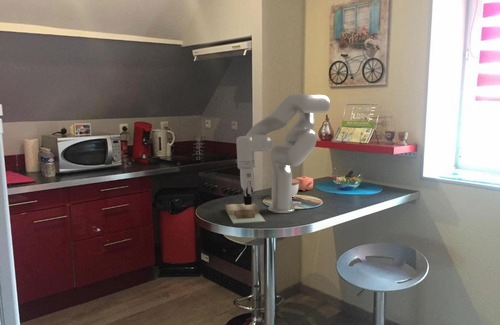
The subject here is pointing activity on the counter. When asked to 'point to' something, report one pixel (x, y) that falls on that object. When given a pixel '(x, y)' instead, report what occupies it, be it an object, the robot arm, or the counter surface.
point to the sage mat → (247, 219)
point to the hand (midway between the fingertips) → (247, 204)
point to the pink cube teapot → (305, 183)
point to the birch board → (241, 208)
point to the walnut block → (244, 214)
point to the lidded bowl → (295, 187)
